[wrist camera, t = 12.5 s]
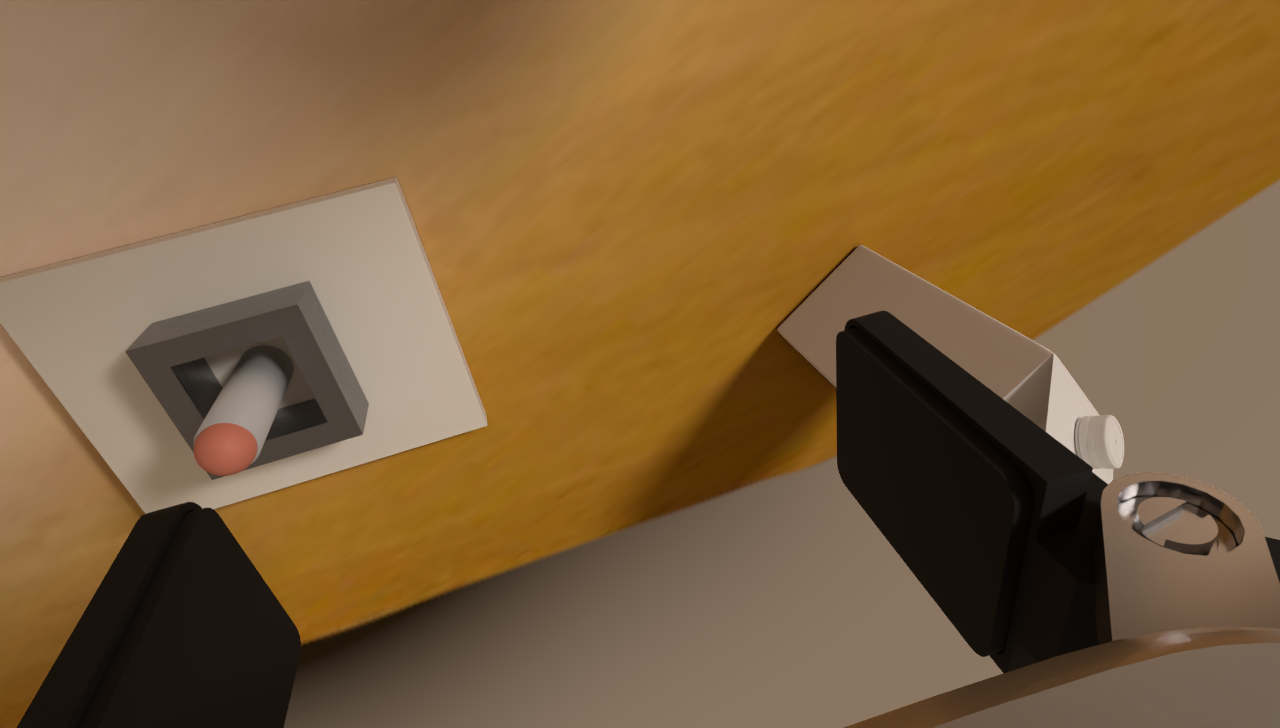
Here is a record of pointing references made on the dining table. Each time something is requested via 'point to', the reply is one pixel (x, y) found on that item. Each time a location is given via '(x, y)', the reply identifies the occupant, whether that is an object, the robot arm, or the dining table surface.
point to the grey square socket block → (293, 312)
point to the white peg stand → (258, 373)
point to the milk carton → (957, 350)
